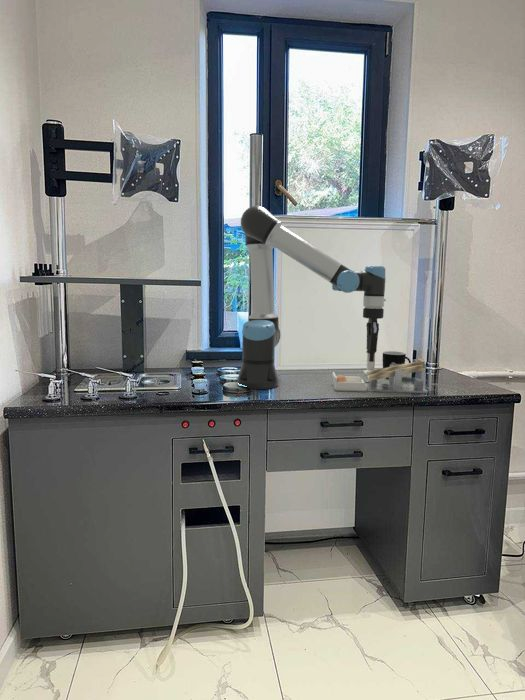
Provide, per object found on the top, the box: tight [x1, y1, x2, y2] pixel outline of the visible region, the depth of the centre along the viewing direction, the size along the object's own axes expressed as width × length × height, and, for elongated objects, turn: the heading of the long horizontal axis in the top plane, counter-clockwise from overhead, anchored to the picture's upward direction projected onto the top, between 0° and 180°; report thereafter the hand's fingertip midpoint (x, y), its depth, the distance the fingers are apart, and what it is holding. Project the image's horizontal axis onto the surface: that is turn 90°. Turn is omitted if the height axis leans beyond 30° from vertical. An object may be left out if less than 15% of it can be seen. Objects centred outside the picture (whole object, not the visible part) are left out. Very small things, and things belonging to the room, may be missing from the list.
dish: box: [331, 371, 368, 392], centre depth 186 cm, size 11×11×4 cm
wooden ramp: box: [362, 357, 427, 381], centre depth 189 cm, size 20×16×4 cm
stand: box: [365, 365, 429, 394], centre depth 185 cm, size 21×11×8 cm, turn 87°
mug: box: [382, 350, 412, 379], centre depth 206 cm, size 12×9×10 cm
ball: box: [336, 374, 347, 382], centre depth 186 cm, size 4×4×4 cm
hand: (370, 369), depth 194 cm, fingers closed
